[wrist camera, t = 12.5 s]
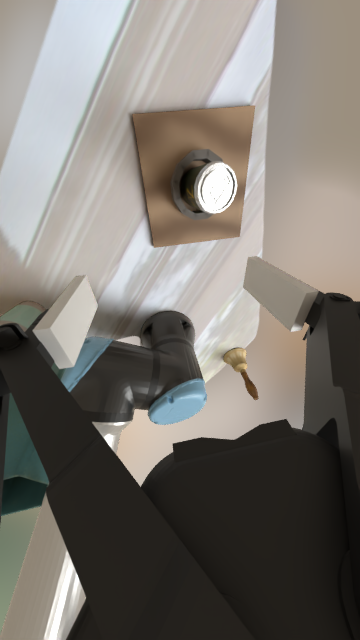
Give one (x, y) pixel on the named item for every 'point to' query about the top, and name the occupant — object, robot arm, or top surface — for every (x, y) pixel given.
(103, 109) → the top surface
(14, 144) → the top surface
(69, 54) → the top surface
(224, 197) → the beer can
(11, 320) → the coffee cup
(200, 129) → the collar holder
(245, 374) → the hand bell
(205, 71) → the top surface
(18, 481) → the flower pot
